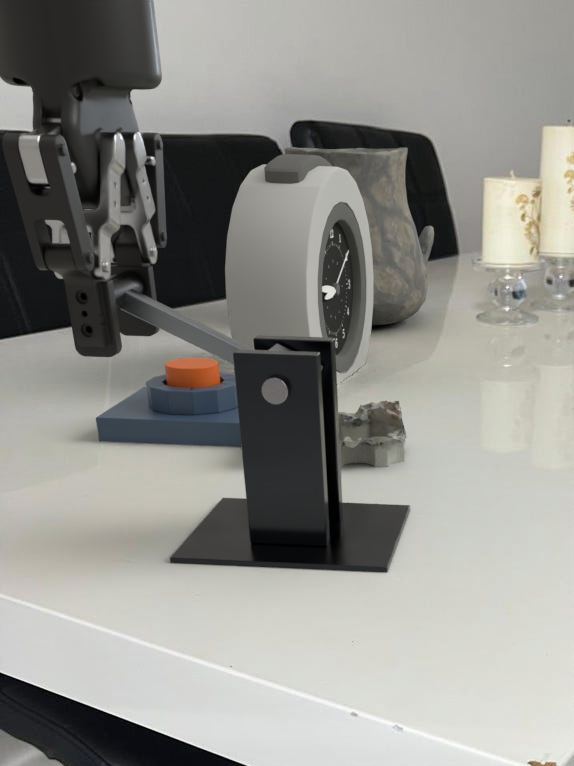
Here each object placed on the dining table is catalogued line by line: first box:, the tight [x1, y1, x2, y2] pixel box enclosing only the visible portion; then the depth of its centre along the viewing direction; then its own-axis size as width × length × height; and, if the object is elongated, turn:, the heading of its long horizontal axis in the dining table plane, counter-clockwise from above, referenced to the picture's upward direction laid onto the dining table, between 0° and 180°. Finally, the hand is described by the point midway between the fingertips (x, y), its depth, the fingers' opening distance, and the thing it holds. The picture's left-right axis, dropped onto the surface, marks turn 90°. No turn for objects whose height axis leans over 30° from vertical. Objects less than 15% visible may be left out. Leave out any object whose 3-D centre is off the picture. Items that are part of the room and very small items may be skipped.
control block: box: [95, 371, 242, 448], centre depth 78 cm, size 12×10×4 cm
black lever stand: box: [169, 335, 411, 573], centre depth 56 cm, size 12×10×12 cm
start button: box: [164, 357, 220, 388], centre depth 77 cm, size 4×4×2 cm
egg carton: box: [338, 400, 408, 468], centre depth 72 cm, size 11×8×4 cm
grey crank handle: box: [108, 271, 323, 371], centre depth 54 cm, size 12×5×2 cm, turn 86°
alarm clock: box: [224, 153, 373, 385], centre depth 95 cm, size 21×8×20 cm, turn 170°
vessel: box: [283, 146, 435, 326], centre depth 121 cm, size 22×22×20 cm
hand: (120, 343), depth 54 cm, fingers closed on grey crank handle, 5 cm apart
